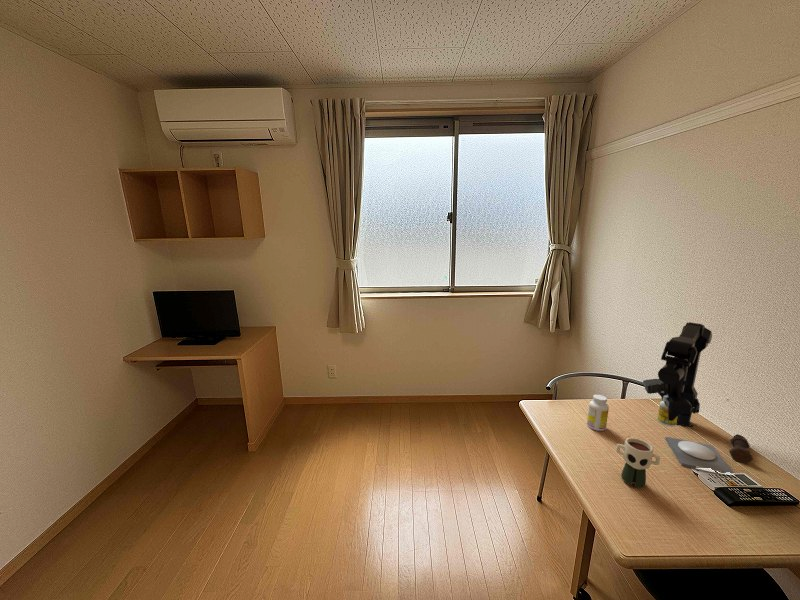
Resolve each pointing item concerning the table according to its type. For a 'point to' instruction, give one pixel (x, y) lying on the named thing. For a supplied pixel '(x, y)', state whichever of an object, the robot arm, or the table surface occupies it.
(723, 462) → the scale
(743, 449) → the bolt
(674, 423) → the supplement bottle
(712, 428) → the table surface
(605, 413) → the supplement bottle
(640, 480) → the character mug
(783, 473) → the table surface
